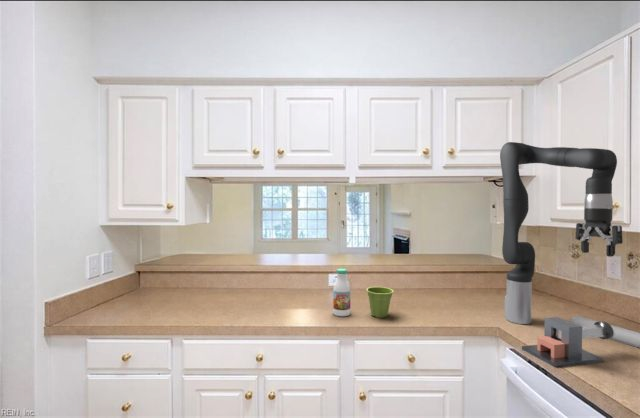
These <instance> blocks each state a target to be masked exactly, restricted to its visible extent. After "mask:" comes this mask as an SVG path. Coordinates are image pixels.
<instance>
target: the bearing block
mask: <svg viewBox="0 0 640 418" xmlns="http://www.w3.org/2000/svg"><path fill="white" fill-rule="evenodd" d="M556 329H558V330H561V331H562V334H561V339H559V338H557V337H556ZM545 336H548V337H551V338H553V339H555V340H557V341H559V342H562V343H564V344H565V357H562V358H553V357H551V350H548V351H539V350H537V344H533V345H532V344H531V345H523V346H521V349H522V351H524V352H526V353H529V354H530V355H532V356H534V357H535V358H537V359H539V360H541V361H543V362H545V363H547V364H548V365H550V366H552V367H554V368H561V367H569V366H571V367H572V366H579V365H580V366H581V365H588V364H595V363H597V364H598V363H604V361H605V360H604V358H603V357H601V356H598V355H597V354H594V353H592V352H590V351H587V350H585V349H583V339H582V326H580V325H577V324H575V323H572V322H571V321H569V320H567V319H565V318H561V317H559V316H552V317H551V316H550V317H544V336H543V337H545Z"/></svg>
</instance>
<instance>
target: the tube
mask: <svg viewBox="0 0 640 418" xmlns="http://www.w3.org/2000/svg"><path fill="white" fill-rule="evenodd" d="M570 322H572V323H575V324H577V325H580V326H584V325H594V324H595V323H596V322H600V320H599V321H598V320H595V319H591V318H587V317H584V316H582V315H581V316H580V315H576V316H572V317H571V320H570ZM610 325H611V327H612V328H613V331H614V335H613V337H612V338H610V339H609V340H613V341H615V342H618V343H621V344H625V345H628V346H632V347H634V348H637V347H639V348H638V349H640V332H637V331H635V330H630V329H629V328H628V329H627V328H624V327H621V326H617V325H613V324H610Z"/></svg>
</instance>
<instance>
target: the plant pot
mask: <svg viewBox="0 0 640 418" xmlns="http://www.w3.org/2000/svg"><path fill="white" fill-rule="evenodd" d="M366 292H367V296H368V301H369V302H368V303H369V309H370V314H371V316H373V317H375V318H386V317H388V316H389V310H390V305H391V299H392V297H393V293H394V290H393V289H392V288H389V287H385V286H370V287H367V288H366Z"/></svg>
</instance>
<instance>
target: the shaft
mask: <svg viewBox="0 0 640 418" xmlns="http://www.w3.org/2000/svg"><path fill="white" fill-rule="evenodd" d="M611 325H612V324H610V323H609V322H607V321H601V320H600V321H599V322H596V323H595V324H594V325H584V326H582V340H583V339H594V338H599V339H601V340H611V339H610V338H612V337H613V335H614V331H613V328H612V327H611ZM561 334H562V331H561V330H558V329H556V337H557V338H559V339H561Z"/></svg>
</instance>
